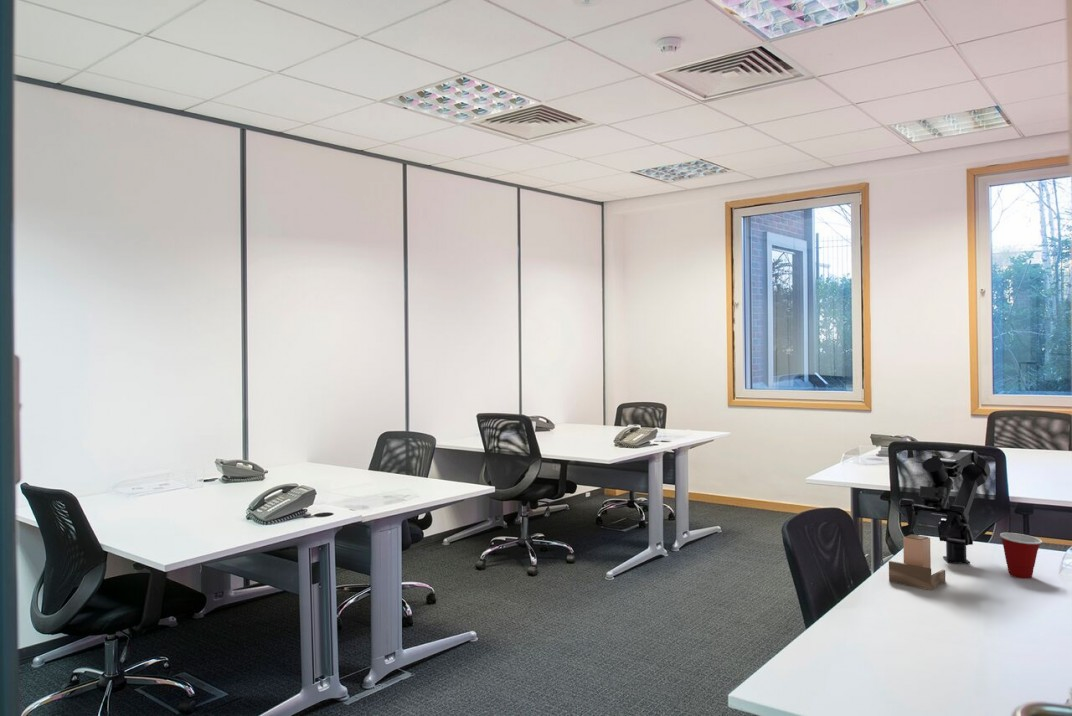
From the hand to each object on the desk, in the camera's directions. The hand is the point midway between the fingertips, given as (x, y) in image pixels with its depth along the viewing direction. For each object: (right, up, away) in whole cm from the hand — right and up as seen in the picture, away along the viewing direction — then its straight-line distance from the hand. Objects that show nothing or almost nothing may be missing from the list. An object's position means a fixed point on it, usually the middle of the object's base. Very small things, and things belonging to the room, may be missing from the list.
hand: (925, 533), depth 226 cm
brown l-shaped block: (-5, -13, -5) cm, 15 cm away
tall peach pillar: (-5, -13, -5) cm, 15 cm away
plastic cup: (+28, -13, -1) cm, 31 cm away
